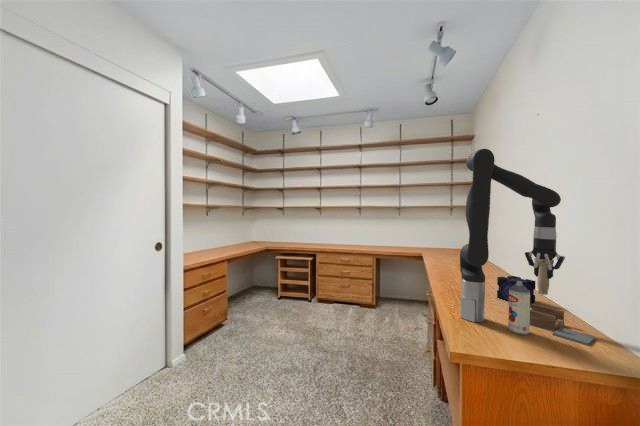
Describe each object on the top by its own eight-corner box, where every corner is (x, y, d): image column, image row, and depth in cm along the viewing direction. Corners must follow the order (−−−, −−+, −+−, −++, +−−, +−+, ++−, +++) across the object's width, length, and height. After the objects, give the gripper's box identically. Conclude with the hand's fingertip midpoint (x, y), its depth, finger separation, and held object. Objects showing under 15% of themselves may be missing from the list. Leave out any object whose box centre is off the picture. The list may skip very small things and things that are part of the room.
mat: (588, 345, 96) (588, 343, 96) (552, 334, 105) (552, 332, 105) (595, 338, 102) (595, 336, 102) (560, 328, 110) (560, 327, 110)
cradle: (554, 331, 107) (554, 317, 107) (522, 322, 116) (522, 308, 116) (564, 325, 114) (564, 311, 114) (532, 316, 123) (532, 303, 123)
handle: (552, 296, 111) (553, 261, 111) (532, 293, 116) (534, 258, 116) (552, 294, 115) (553, 259, 115) (533, 291, 119) (534, 257, 119)
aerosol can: (504, 327, 111) (505, 279, 111) (522, 328, 110) (522, 280, 110) (515, 334, 104) (515, 283, 104) (533, 335, 104) (534, 284, 104)
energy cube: (497, 298, 150) (497, 277, 150) (512, 296, 153) (513, 275, 153) (518, 305, 138) (519, 282, 138) (535, 303, 142) (535, 281, 142)
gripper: (521, 236, 119) (520, 274, 119) (563, 239, 107) (562, 282, 107) (528, 235, 123) (527, 273, 123) (569, 238, 111) (567, 280, 111)
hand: (543, 277), depth 115 cm, fingers closed on handle, 3 cm apart
